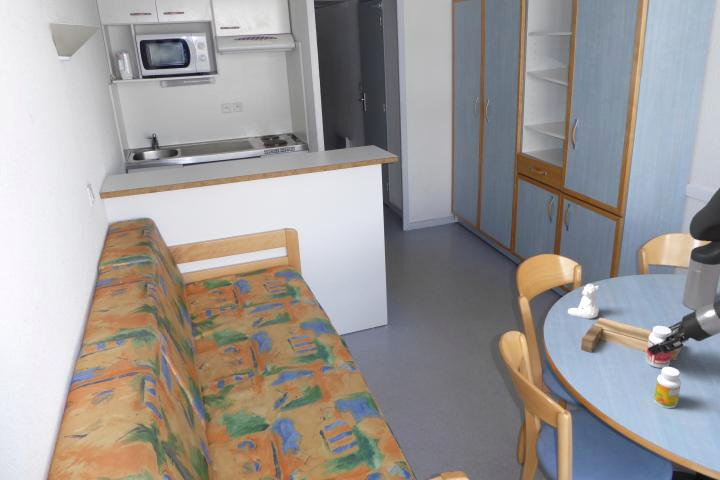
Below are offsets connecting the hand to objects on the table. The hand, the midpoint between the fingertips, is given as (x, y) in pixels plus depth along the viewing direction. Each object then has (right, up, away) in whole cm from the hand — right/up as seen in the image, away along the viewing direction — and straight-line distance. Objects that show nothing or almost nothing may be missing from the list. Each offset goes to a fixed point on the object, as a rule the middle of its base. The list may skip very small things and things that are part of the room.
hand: (653, 346), depth 160 cm
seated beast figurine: (-8, +5, +29) cm, 31 cm away
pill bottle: (+2, -5, +1) cm, 5 cm away
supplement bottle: (-5, -12, -15) cm, 20 cm away
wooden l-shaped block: (-2, -2, +8) cm, 9 cm away
